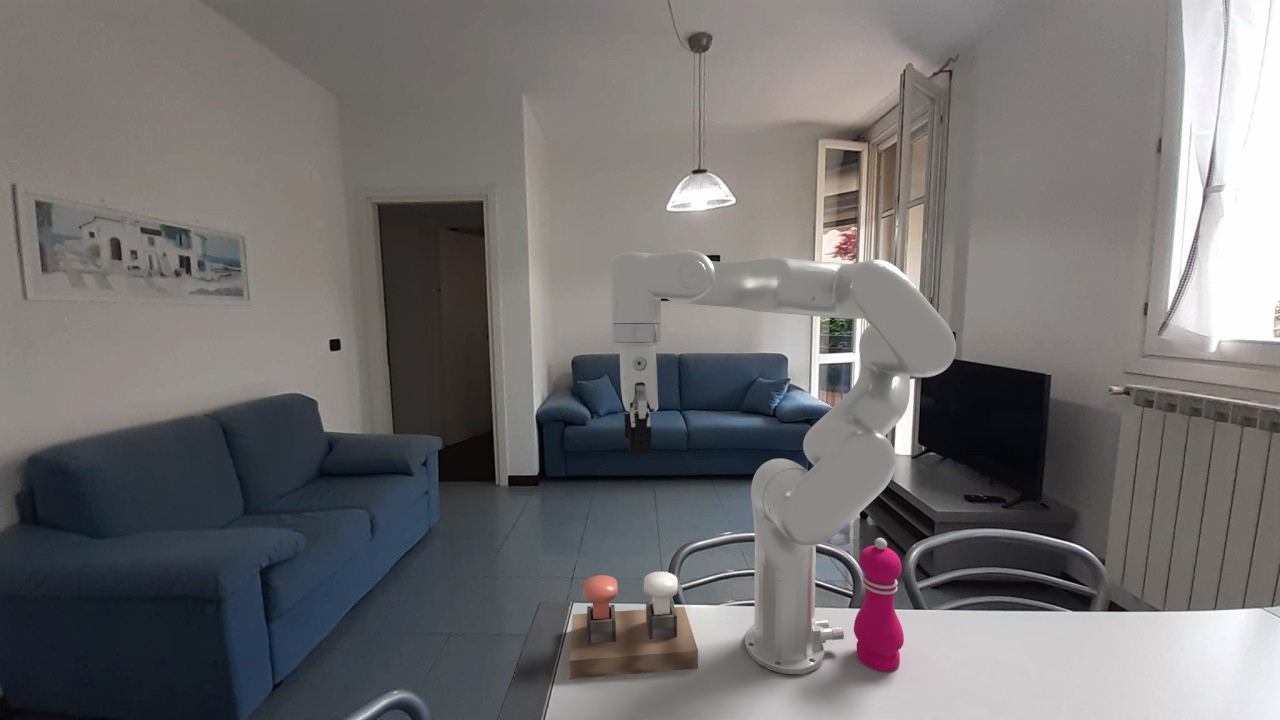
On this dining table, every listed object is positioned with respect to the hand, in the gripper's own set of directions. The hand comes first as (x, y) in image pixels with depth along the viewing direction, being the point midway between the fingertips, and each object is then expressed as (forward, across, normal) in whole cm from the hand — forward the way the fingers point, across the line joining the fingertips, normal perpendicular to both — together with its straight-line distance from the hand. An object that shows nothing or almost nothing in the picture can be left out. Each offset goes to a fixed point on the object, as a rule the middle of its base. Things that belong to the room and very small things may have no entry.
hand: (637, 445), depth 78 cm
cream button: (+29, +3, -4) cm, 29 cm away
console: (+35, +3, +1) cm, 35 cm away
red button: (+29, +3, +6) cm, 30 cm away
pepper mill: (+35, -5, -38) cm, 52 cm away
